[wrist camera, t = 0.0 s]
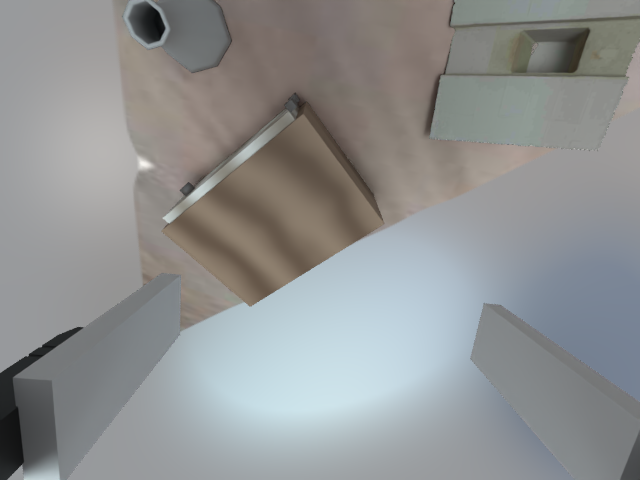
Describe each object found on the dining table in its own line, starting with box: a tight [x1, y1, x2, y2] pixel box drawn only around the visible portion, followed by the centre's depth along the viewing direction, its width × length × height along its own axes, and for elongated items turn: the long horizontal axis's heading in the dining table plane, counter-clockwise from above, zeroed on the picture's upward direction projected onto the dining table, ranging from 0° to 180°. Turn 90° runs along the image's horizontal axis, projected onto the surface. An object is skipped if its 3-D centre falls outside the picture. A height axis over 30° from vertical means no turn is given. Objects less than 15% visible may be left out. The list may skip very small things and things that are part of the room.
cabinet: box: [162, 93, 384, 306], centre depth 37 cm, size 20×16×8 cm
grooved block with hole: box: [429, 0, 640, 151], centre depth 30 cm, size 16×9×15 cm
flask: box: [122, 0, 231, 73], centre depth 27 cm, size 7×7×10 cm
